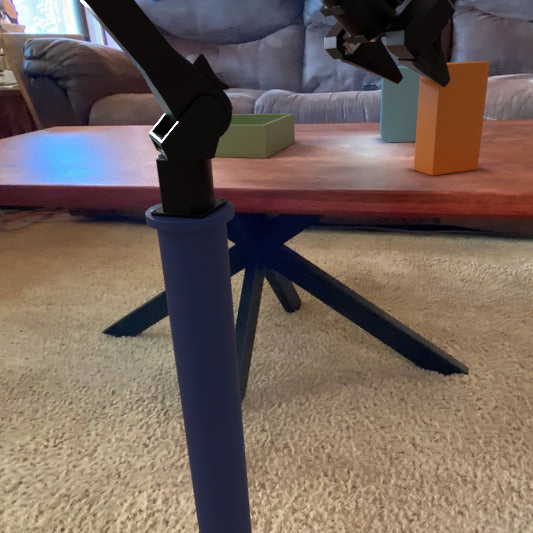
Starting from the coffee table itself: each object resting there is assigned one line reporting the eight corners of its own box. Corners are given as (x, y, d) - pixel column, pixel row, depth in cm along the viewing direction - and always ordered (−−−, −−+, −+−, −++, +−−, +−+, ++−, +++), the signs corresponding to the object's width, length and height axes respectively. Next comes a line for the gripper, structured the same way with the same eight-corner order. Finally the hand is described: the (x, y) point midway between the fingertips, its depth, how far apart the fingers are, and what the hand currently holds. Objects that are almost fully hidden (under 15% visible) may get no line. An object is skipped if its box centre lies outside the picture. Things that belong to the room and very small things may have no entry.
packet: (477, 169, 66) (490, 61, 61) (432, 175, 64) (441, 64, 59) (457, 163, 70) (467, 61, 64) (413, 169, 67) (420, 64, 62)
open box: (267, 158, 80) (265, 125, 78) (184, 156, 85) (181, 125, 83) (294, 142, 92) (294, 113, 90) (221, 141, 97) (219, 114, 95)
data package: (449, 136, 90) (455, 63, 85) (453, 141, 85) (460, 64, 81) (379, 138, 92) (381, 66, 87) (380, 142, 87) (383, 67, 83)
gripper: (447, -111, 45) (527, 22, 52) (346, -65, 61) (418, 32, 69) (366, -9, 46) (457, 109, 53) (288, 10, 62) (366, 98, 69)
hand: (422, 82), depth 61 cm, fingers open, 9 cm apart
